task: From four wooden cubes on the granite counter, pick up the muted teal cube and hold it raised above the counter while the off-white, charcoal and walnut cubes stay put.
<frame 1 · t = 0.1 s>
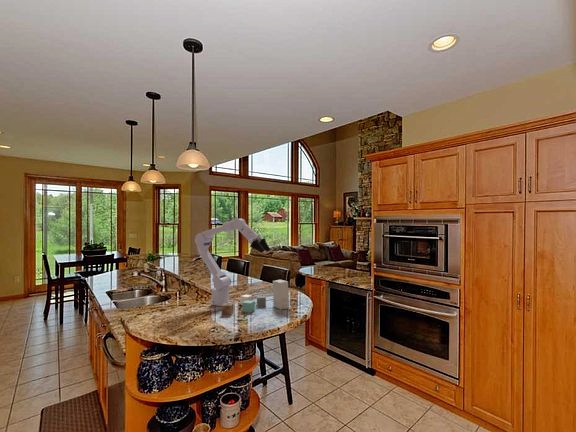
hand: (266, 251, 164), 32 cm above the countertop, tool tilted 50°, fingers open, 7 cm apart
charcoal cube: (261, 305, 171), on the countertop
teal cube: (248, 311, 161), on the countertop
offwhite cube: (246, 304, 174), on the countertop
skincare box: (280, 307, 167), on the countertop
walnut cube: (227, 313, 156), on the countertop
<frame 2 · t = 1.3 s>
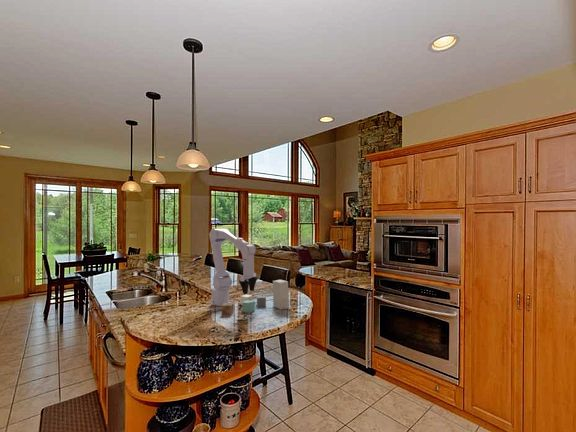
hand: (248, 292, 161), 10 cm above the countertop, tool pointing down, fingers open, 7 cm apart
nothing on the countertop moved.
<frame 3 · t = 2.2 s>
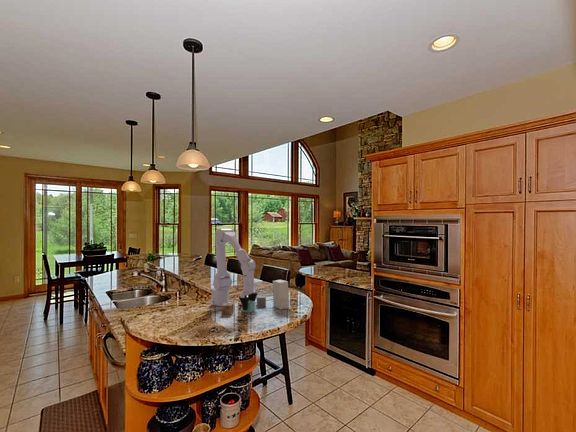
hand: (248, 308, 161), 1 cm above the countertop, tool pointing down, fingers open, 7 cm apart
nothing on the countertop moved.
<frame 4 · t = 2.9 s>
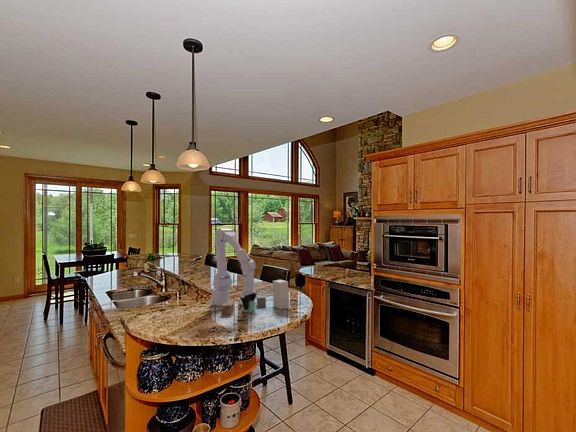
hand: (248, 308, 161), 1 cm above the countertop, tool pointing down, fingers closed on teal cube, 5 cm apart
teal cube: (248, 310, 161), on the countertop, touching gripper
everything else where it was.
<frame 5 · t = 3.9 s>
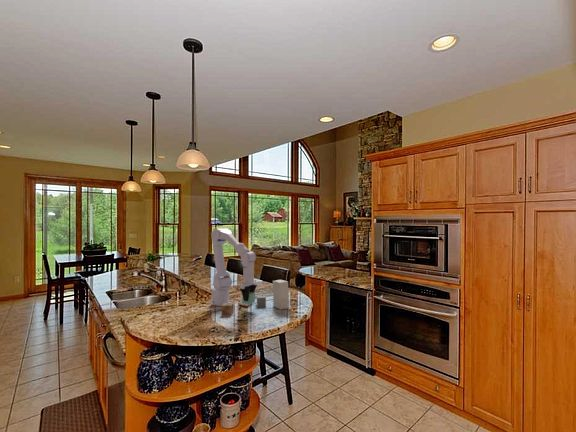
hand: (248, 299, 161), 6 cm above the countertop, tool pointing down, fingers closed on teal cube, 5 cm apart
teal cube: (248, 302, 161), point 4 cm above the countertop, touching gripper
everything else where it was.
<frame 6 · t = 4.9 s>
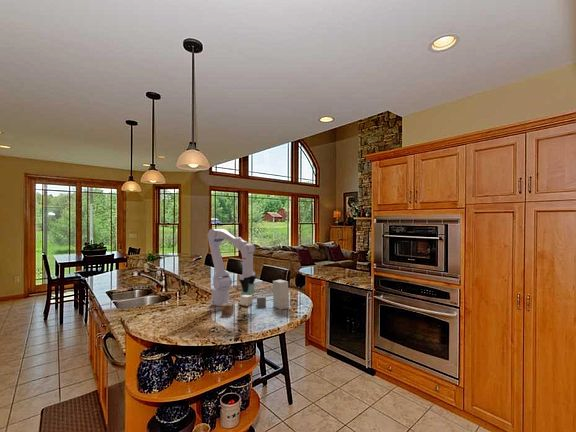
hand: (247, 290, 162), 10 cm above the countertop, tool pointing down, fingers closed on teal cube, 5 cm apart
teal cube: (247, 293, 162), point 9 cm above the countertop, touching gripper
everything else where it was.
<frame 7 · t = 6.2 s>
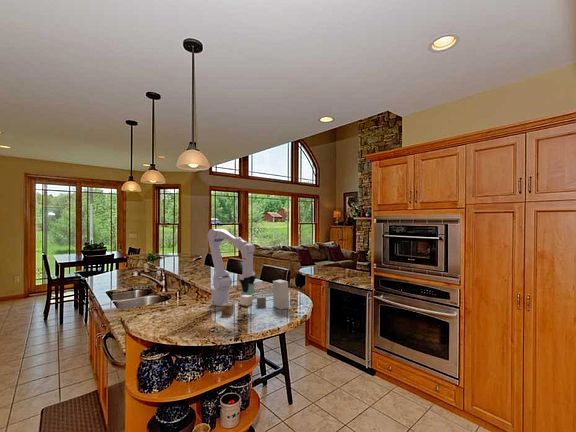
hand: (247, 290, 162), 10 cm above the countertop, tool pointing down, fingers closed on teal cube, 5 cm apart
teal cube: (247, 293, 162), point 9 cm above the countertop, touching gripper
everything else where it was.
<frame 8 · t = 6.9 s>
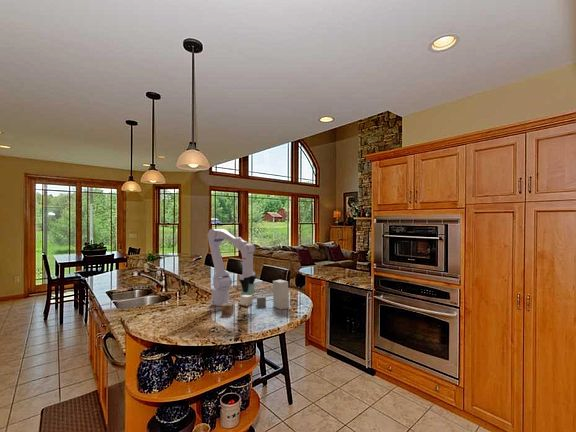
hand: (247, 290, 162), 10 cm above the countertop, tool pointing down, fingers closed on teal cube, 5 cm apart
teal cube: (247, 293, 162), point 9 cm above the countertop, touching gripper
everything else where it was.
at the end: the gripper is holding teal cube; teal cube point 8.8 cm above the countertop; walnut cube moved 0.1 cm from its start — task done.
